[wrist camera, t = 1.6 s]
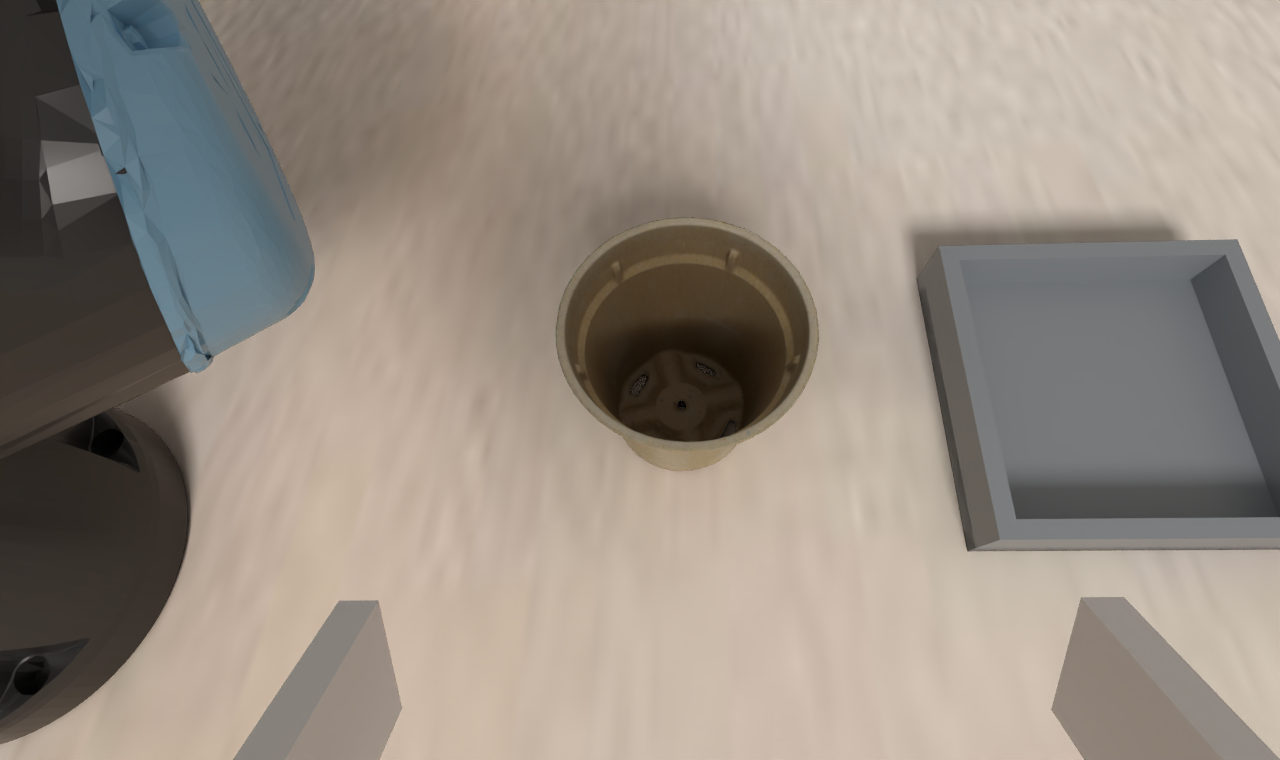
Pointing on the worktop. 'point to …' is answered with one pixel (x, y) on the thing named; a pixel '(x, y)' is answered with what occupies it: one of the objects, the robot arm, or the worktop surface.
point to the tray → (1107, 395)
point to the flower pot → (687, 338)
